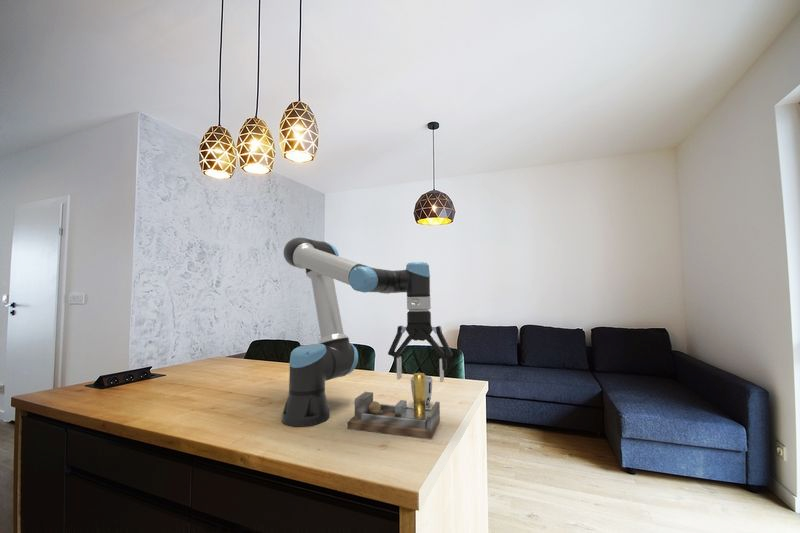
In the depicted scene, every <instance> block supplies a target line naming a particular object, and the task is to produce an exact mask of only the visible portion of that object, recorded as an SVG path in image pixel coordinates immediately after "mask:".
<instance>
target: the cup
mask: <svg viewBox="0 0 800 533" xmlns="http://www.w3.org/2000/svg"><path fill="white" fill-rule="evenodd" d="M410 388H411V395H412V401H413V402H414V375H412V376H411V377H410ZM432 391H433V377H432V376H428V375H425V408H426V409H428V408H429V406H430V403H431V400H432Z"/></svg>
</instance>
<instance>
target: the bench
mask: <svg viewBox="0 0 800 533" xmlns="http://www.w3.org/2000/svg"><path fill="white" fill-rule="evenodd" d="M372 402H374V392H372V391H371V392H370V391H364V392H362V393H361V394H360V395H358V396H356V397H355V398H354V416H353V417H352V418H350V419H349V420H347V425H346V426H347V427H346V429H348V430H356V431H365V432H371V433H380V434H386V435H394V436H403V437H411V438H416V439H425V440H432V438H433V436H434V435H435V432H436V431H437V429H438V426H439V424H440V422H441V416H440V415H441V414H440V413H441V411H440V406H441V403H440V401H435V402H434V404H433V406H432V407H431V408H425V411H430V412H429V414H428V415H427V426H426V420H418V419H409V418H400V417H395V405H396V404H395V405H393V404H384V403H379V404H380V405H381V411H380V412H379V413H378V414H377V415H373V414H371V413H370V412H369V405H370V403H372ZM407 409H413V410H414V406H407Z"/></svg>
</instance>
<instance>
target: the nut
mask: <svg viewBox="0 0 800 533" xmlns="http://www.w3.org/2000/svg"><path fill="white" fill-rule="evenodd" d="M380 404H381V403H380V402H378V401H374V400H373V402H372V403H370V405H369V412H370V413H371V414H373V415H377V414H378V413H379V412H380V411H381V405H380Z"/></svg>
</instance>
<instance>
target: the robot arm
mask: <svg viewBox="0 0 800 533" xmlns="http://www.w3.org/2000/svg"><path fill="white" fill-rule="evenodd" d="M283 257H284V260H285V261H286V263H288V264H289V265H290V266H293V267H295V268H298V269H302V270H304V269H305V273H306V274H305V275H306V277H307V278H308V279H310V280H311V281H310V282H311V286H312V291H313V298H314V304H315V310H316V316H317V322H318V327H319V328H318V329H319V335H320V340H319V341H318V343H310V344H305V345H304V344H303V345H300V346H297V347H296V348H293V350H292V351H291V352H290V356H289V357H290V358H289V362H288V365H289V378H288V379H289V380H288V382H289V384H288V397H287V399H286V402H285V406H284V408H283V411H282V415H281V417H282V418H281V421H282V422H281V423H283V424H284V425H285V426H286V425H287V426H290V427H309V426H313V425H317V424H318V425H319V424H320V423H321V424H322V423H323V422H325V421H327V420H328V419H330V414H331V413H330V412H331V410H330V406H329V402H328V398H327V396H326V381H330V380H333V379H337V378H342V377H345V376H347V375H349V374H351V373H353V372H354V370H356V367H357V365H358V362H359V352H358V349H357V347H356V346H354V344H352V343H351V342H350V339H349V336H347V335H346V334H345V333H344V328H343V324H342V318H341V312H340V308H339V302H338V296H337V291H336V290H337V289H336V286H335V281H338V282H341V283H344V284H346V285H349V286H350V287H351V289H352V290H355V291H356V292H361V293H380V294H387V295H388V294H397V293H399V294H400V293H406V308H407V310H408V311H407V313H406V318H407V319H406V323H407V325H406V326H404V325H399V326H397V330H396V334H395V336H394V338H393V342H392V343H391V345H390V347H389V350H388V352H387V355H388V356H392V357H393V367H394V368H395V369H396V379H397V380H401V379H402V378H403V374H402V371H403V369H402V366H403V365H402V356H400V355H401V354H402V352H403V351H404V350H405V349H406V347H407V346H408V345H409V343H410V342H412V340H413V341H415V342H416V341H420V342H423V341H427V343H428V344H429V345H430V346H431V347H432V348H433V349H434V351H435V352H436V353H437V355H439V356H440V358H439V359H438V360H439V382H440V383H443V382H444V381H445V376H444V375H445V374H444V373H445V371H447V368H448V362H447V361H448V360H447V359H449V358H451V357H452V356H453V352H452V350H451V348H450V345H449V344H448V342H447V340H446V338H445V336H444V334H443V332H442V331H443V330H442V326H441V325H437V326H432V314H431V313H432V312H431V311H430V310H431V308H432V306H431V304H432V303H431V273H430V272H431V271H430V264H428V262H424V261H412V262H408V263H406V265H405V266H406V267H405V269H401V270H389V269H381V268H376V267H371V266H368V265H366V264H362V263H358V262H356V261H353V260H350V259H347V258H345V257H342V256H340V255H339V251H338V250H337V248H336V246H334V245H333V244H332V243H330V242H329V243H328V242H326V241H322V240H321V241H320V240H314V239H310V238H307V237H306V238H305V237H295V238H291V239H290V240H288V242H287V243H286V244H285V245H284V248H283ZM405 331H406V333H407V334H408V335H407V336H406V338H405V340H404V341H403V342H402V343H401V345H400V346H399V348H397V347H398V345H399V342H400V340H401V338H402V336H403V334H404V333H405ZM432 332H434V334H436V336H437V338H438V339H439V342H440V344H441V345H442V347H443V349H442V348H441V347H440V345H439V344H438V343H437V342H436V340H434V338H433V337H432V335H431V334H432ZM396 349H397V350H396Z"/></svg>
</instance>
